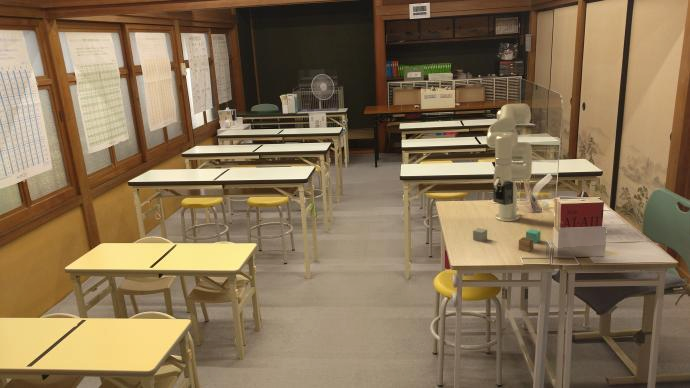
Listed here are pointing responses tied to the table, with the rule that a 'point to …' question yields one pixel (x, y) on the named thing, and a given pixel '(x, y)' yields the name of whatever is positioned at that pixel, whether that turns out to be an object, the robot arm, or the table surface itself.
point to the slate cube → (480, 234)
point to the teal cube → (533, 235)
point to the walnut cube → (526, 244)
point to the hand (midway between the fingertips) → (503, 196)
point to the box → (504, 194)
